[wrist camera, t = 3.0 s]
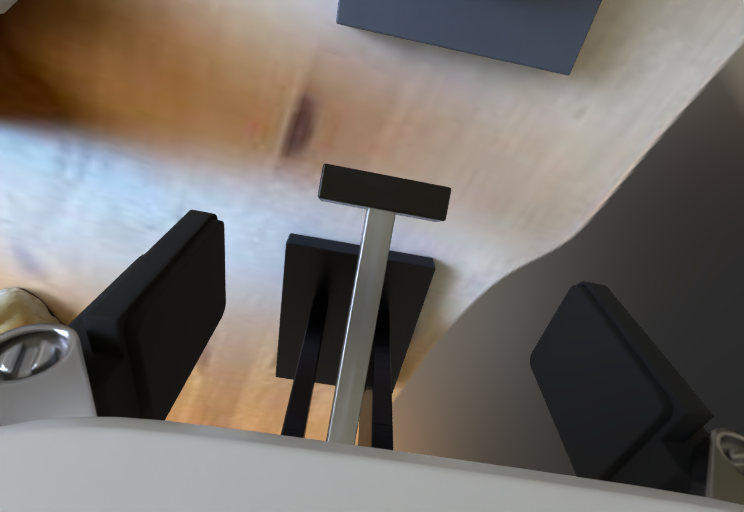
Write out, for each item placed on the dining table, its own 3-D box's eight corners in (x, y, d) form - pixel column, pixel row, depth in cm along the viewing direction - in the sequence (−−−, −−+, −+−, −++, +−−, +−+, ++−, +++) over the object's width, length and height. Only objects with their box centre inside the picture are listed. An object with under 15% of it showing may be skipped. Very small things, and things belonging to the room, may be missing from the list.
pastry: (116, 369, 30) (83, 411, 27) (49, 384, 31) (11, 427, 28) (23, 277, 25) (-30, 316, 22) (-51, 300, 27) (-110, 340, 23)
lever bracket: (290, 232, 23) (181, 493, 10) (433, 257, 24) (491, 528, 11) (278, 364, 29) (203, 623, 17) (392, 381, 30) (399, 640, 18)
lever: (325, 170, 16) (322, 159, 14) (440, 192, 16) (456, 185, 14) (264, 532, 17) (250, 583, 14) (375, 544, 17) (380, 595, 15)
